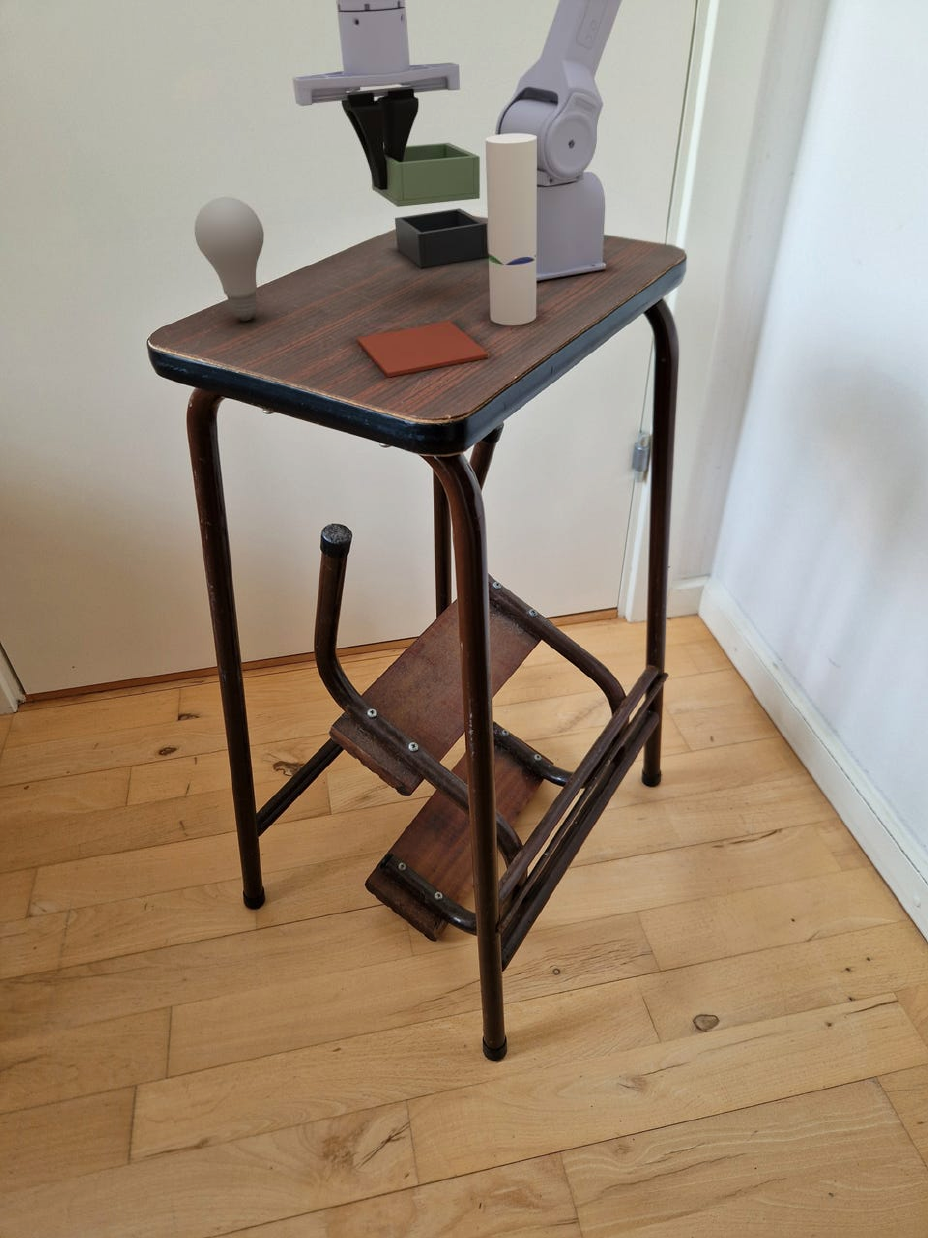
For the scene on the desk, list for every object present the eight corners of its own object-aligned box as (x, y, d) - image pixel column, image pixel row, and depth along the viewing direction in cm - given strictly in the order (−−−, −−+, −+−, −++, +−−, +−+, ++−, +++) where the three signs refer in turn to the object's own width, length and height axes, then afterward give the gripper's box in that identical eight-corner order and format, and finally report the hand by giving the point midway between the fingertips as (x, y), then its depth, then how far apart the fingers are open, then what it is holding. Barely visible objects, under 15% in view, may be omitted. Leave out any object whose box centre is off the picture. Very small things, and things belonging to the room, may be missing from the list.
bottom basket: (461, 239, 104) (460, 207, 102) (487, 256, 99) (486, 223, 96) (397, 249, 102) (394, 217, 100) (420, 268, 96) (418, 234, 94)
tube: (500, 307, 85) (496, 132, 76) (542, 311, 84) (543, 133, 75) (483, 322, 82) (477, 142, 73) (527, 327, 81) (526, 143, 71)
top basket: (449, 181, 88) (448, 142, 85) (479, 198, 82) (479, 156, 80) (372, 189, 85) (369, 148, 83) (397, 206, 79) (395, 163, 77)
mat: (450, 324, 82) (449, 320, 82) (488, 357, 75) (487, 353, 75) (357, 342, 80) (356, 337, 79) (388, 377, 73) (387, 372, 73)
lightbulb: (264, 332, 83) (240, 206, 76) (204, 330, 84) (175, 206, 77) (287, 310, 88) (267, 189, 81) (229, 308, 89) (205, 189, 82)
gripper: (437, 0, 78) (445, 169, 87) (275, 12, 75) (301, 187, 83) (465, 4, 73) (472, 183, 81) (294, 17, 69) (319, 203, 78)
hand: (387, 186), depth 82 cm, fingers closed on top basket
